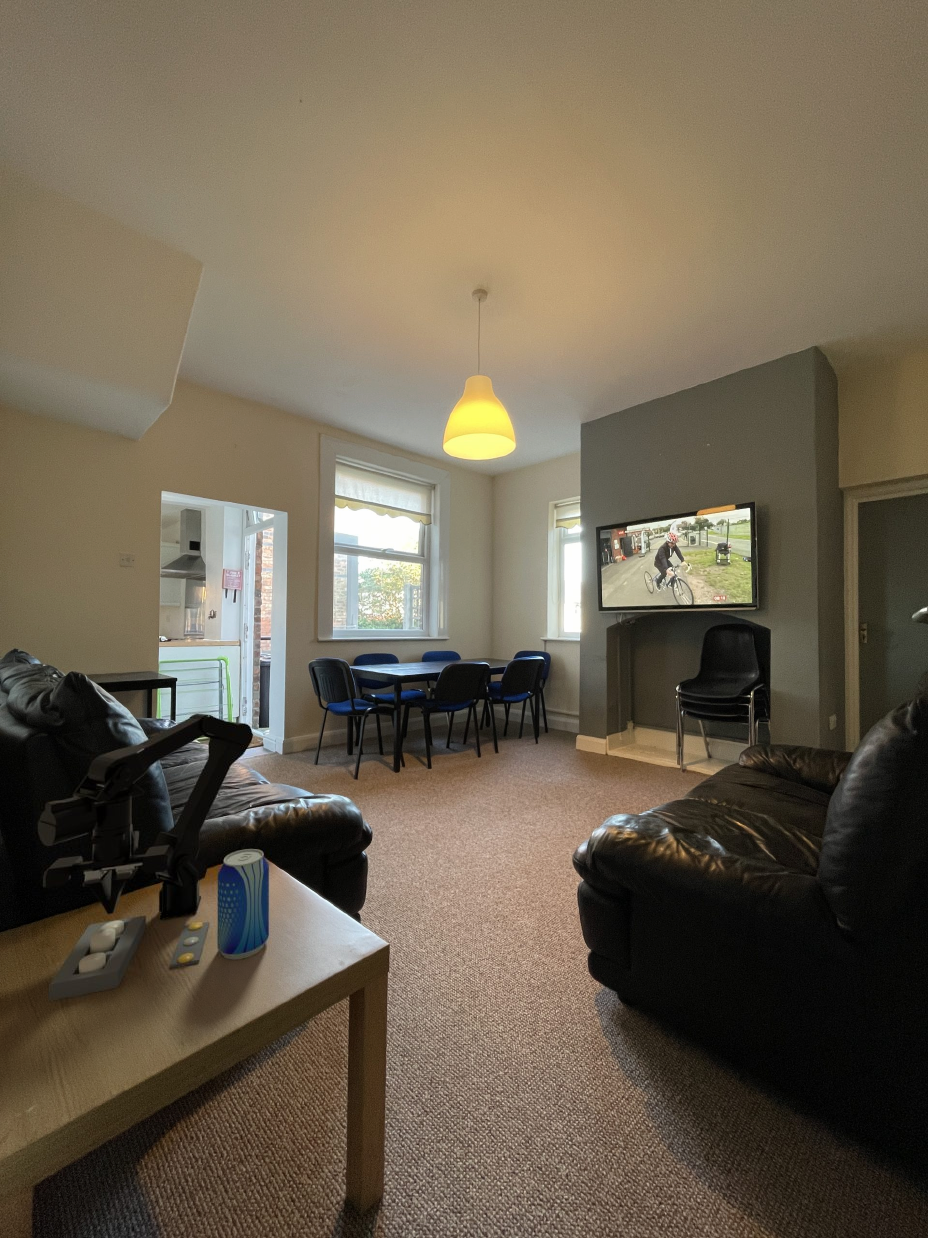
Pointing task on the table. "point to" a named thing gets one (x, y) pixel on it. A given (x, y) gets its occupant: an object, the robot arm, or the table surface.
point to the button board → (115, 967)
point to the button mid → (102, 941)
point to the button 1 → (92, 962)
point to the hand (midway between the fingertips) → (111, 913)
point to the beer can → (243, 904)
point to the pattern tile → (190, 944)
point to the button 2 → (115, 927)
